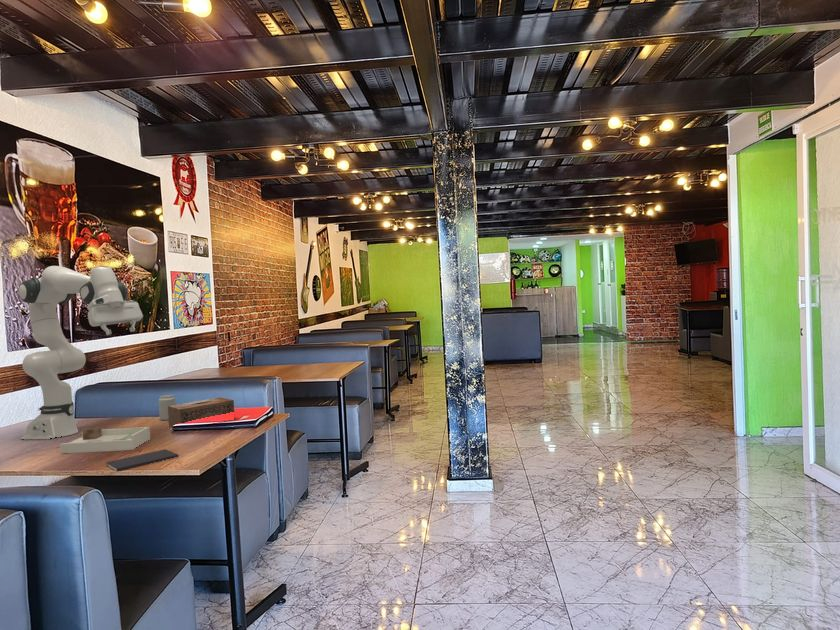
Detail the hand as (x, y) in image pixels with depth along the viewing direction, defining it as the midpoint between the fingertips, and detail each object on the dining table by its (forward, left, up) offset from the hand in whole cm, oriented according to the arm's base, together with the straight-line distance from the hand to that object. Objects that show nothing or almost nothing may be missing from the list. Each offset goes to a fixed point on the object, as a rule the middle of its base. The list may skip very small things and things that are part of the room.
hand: (121, 332), depth 232 cm
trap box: (-9, 0, -46) cm, 47 cm away
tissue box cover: (+17, +36, -47) cm, 62 cm away
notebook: (+17, -26, -47) cm, 56 cm away
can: (-5, +50, -47) cm, 69 cm away
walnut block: (-17, +4, -44) cm, 47 cm away
